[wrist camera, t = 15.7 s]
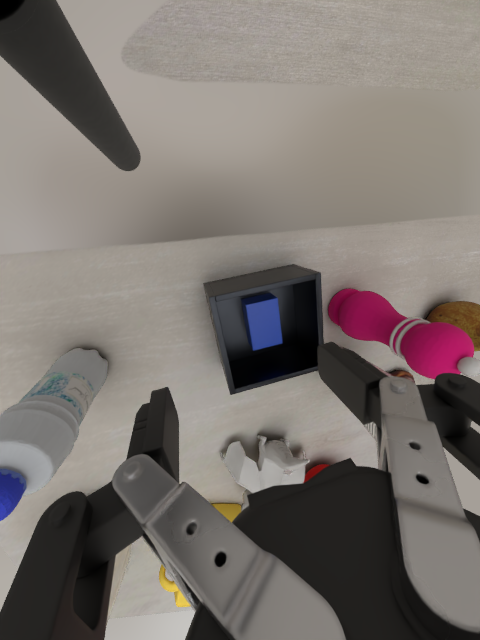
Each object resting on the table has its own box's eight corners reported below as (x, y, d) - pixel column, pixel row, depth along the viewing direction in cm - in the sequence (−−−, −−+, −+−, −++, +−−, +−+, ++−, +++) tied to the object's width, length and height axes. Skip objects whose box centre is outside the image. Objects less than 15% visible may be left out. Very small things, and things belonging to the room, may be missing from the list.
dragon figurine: (211, 443, 45) (215, 500, 36) (288, 410, 44) (310, 460, 36) (241, 481, 52) (250, 535, 44) (307, 453, 51) (330, 503, 43)
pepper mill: (321, 328, 41) (435, 409, 22) (328, 285, 38) (462, 337, 20) (360, 326, 42) (495, 400, 24) (368, 284, 40) (527, 331, 21)
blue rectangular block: (275, 335, 38) (282, 343, 36) (248, 342, 38) (253, 351, 35) (270, 292, 36) (277, 297, 33) (240, 299, 35) (245, 305, 32)
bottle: (119, 378, 36) (52, 531, 18) (70, 389, 35) (-54, 563, 17) (103, 337, 34) (7, 466, 15) (51, 348, 33) (-120, 500, 14)
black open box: (221, 364, 39) (230, 395, 32) (203, 283, 34) (208, 297, 27) (300, 344, 41) (324, 368, 34) (293, 264, 36) (320, 272, 29)
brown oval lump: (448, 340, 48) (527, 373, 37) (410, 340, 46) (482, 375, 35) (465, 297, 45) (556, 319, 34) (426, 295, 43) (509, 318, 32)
